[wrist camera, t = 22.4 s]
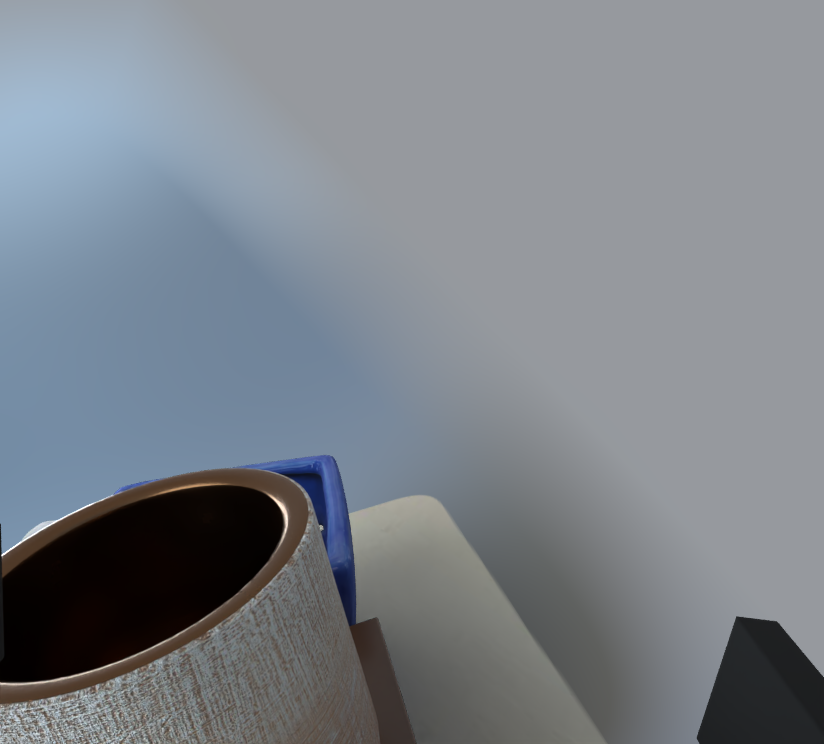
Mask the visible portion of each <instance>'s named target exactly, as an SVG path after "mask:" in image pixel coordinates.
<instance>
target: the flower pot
mask: <svg viewBox="0 0 824 744" xmlns="http://www.w3.org/2000/svg"><path fill="white" fill-rule="evenodd" d="M233 468H250V469H260V470H266V471H271V472H275V473H278V474H281V475H284V476H286V477H288V478H290V479H292V480H294V481H295V482H297V483H298V484H300V485H301V486H302V487H303V488H304V489H305V491H306V492H307V493H308V495H309V497H310V499H311V502H312V504H313V507H314V511H315V514H316V517H317V521H318V524H319V525H322V526H323V529H324V530H322V531H321V534H322V538H323V541H324V545H325V548H326V552H327V555H328V558H329V562H330V565H331V569H332V572H333V575H334V579H335V582H336V585H337V589H338V592H339V595H340V598H341V602H342V605H343V608H344V611H345V615H346V618H347V621H348V625H349V626H352V625H355V624H356V583H355V565H354V554H353V544H352V535H351V527H350V520H349V514H348V509H347V503H346V498H345V493H344V489H343V484H342V479H341V476H340V472H339V469H338V466H337V463H336V461H335V459H334V458H333V457H332V456H330V455H321V456H313V457H304V458H296V459H289V460H282V461H274V462H267V463H260V464H252V465H245V466H239V467H233ZM163 479H164V478H163ZM157 480H160V479H156V480H151V481H145V482H140V483H136V484H131V485H127V486H124V487H121V488H120V489H118V490H117V491H116V492H115V493H114V494H117V493H120V492H123V491H125V490H128V489H131V488H134V487H137V486H140V485H143V484H146V483H150V482H153V481H157ZM114 494H113V495H114Z"/></svg>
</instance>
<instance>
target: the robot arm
mask: <svg viewBox="0 0 824 744" xmlns="http://www.w3.org/2000/svg"><path fill="white" fill-rule="evenodd" d="M3 658H4V626H3V589H2V552H1V524H0V661H1V660H2V659H3ZM697 740H698V742H699V744H824V677H823V676H822V675H821V674H820V672H819V671H818V670H817V669H816V668H815V666H814V665H813V664H812V663H811V662H810V660H809V659H808V658H807V657H806V656H805V655H804V653H803V652H802V651H801V650H800V648H799V647H798V646H797V645H796V644H795V642H794V641H793V640H792V639H791V638H790V636H789V635H788V634H787V633H786V632H785V630H784V629H783V628H782V627H781V626H780V624H779V623H778V622H777V621H769V620H760V619H753V618H744V617H736V620H735V623H734V626H733V629H732V632H731V635H730V638H729V641H728V644H727V647H726V650H725V653H724V656H723V659H722V662H721V665H720V668H719V671H718V674H717V677H716V681H715V683H714V687H713V690H712V693H711V696H710V699H709V702H708V705H707V708H706V711H705V714H704V717H703V720H702V723H701V726H700V729H699V732H698V735H697Z"/></svg>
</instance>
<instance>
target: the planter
mask: <svg viewBox="0 0 824 744" xmlns="http://www.w3.org/2000/svg"><path fill="white" fill-rule="evenodd" d="M2 589H3V626H4V658H3V659H2V660H1V661H0V744H380V736H379V727H378V721H377V716H376V712H375V709H374V706H373V702H372V699H371V695H370V692H369V689H368V686H367V682H366V679H365V676H364V673H363V669H362V666H361V663H360V660H359V656H358V653H357V650H356V647H355V644H354V640H353V637H352V634H351V631H350V628H349V625H348V621H347V618H346V615H345V611H344V608H343V605H342V602H341V598H340V595H339V592H338V589H337V585H336V582H335V579H334V575H333V572H332V569H331V565H330V562H329V558H328V555H327V552H326V548H325V545H324V541H323V538H322V534H321V531H320V528H319V524H318V521H317V517H316V514H315V511H314V507H313V504H312V502H311V499H310V497H309V495H308V493H307V492H306V491H305V489H304V488H303V487H302V486H301V485H300V484H298V483H297V482H295V481H294V480H292V479H290V478H288V477H286V476H284V475H281V474H278V473H275V472H271V471H266V470H260V469H250V468H224V469H212V470H204V471H198V472H192V473H186V474H181V475H177V476H173V477H168V478H164V479H160V480H157V481H153V482H150V483H146V484H143V485H140V486H137V487H134V488H131V489H128V490H125V491H123V492H120V493H117V494H114V495H112V496H109V497H107V498H104V499H102V500H100V501H97V502H95V503H93V504H90V505H88V506H86V507H84V508H82V509H79V510H77V511H75V512H73V513H71V514H69V515H67V516H65V517H63V518H61V519H59V520H58V521H56V522H54V523H52V524H50V525H48V526H46V527H45V528H43V529H41V530H39V531H38V532H36V533H34V534H33V535H31V536H29V537H28V538H26V539H25V540H23V541H21V542H20V543H18V544H17V545H15V546H14V547H13V548H11V549H10V550H8V551H7V552H5V553H4V554H2Z"/></svg>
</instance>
